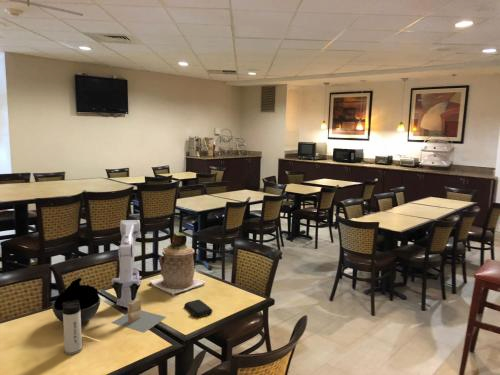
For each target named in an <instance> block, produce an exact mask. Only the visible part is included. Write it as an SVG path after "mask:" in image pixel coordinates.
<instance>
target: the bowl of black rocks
mask: <svg viewBox="0 0 500 375" xmlns="http://www.w3.org/2000/svg"><path fill="white" fill-rule="evenodd" d="M82 279H83V278H82V277H78V278H76V279H75V280H72V281H71V283H70V284H69V285H68V286H67V287H66V289H65V290H64V291H63V292H61V293H60V294H59V296H58V297H57V298H56V300H55V301H53V303H52V305H51V309H52V312H53V315H54V316H55V318H56V319H58V320H59V322H61V323H63V306H62V304H63V303H64V302H69V301H76V302H79V303H80V312H81V325H82V324H84V323H86V322H88V321H90V320H91V319H92V318H93V317H94V316H95V315H96V313H97V312H98V310H99V307H100V304H101V297H100V296H99V293H98V289H97V288H96V287H95V286H91V285H89V284H87V285H86V284H81V283H80V282H81V281H82Z"/></svg>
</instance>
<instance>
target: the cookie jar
mask: <svg viewBox="0 0 500 375" xmlns="http://www.w3.org/2000/svg"><path fill="white" fill-rule="evenodd" d="M187 238H188V237H187V236H186V234H184V233H181V232H180V231H175V232H173V238H172V242H171V243H170V244H169V245H167V246H164V247H163V249H162V252H161V254H162V255H163V256H160V257H159V258H158V263H159V267H160V275H161V276H162V277H159V278H155V279H149V280H148V282H150V283H151V284H152V286H154V287H156V288H158V289H160V290H161V291H164V292H165V293H168V294H170V295H172V296H173V297H174V296H175V295H176V294H180V293H183V292H186V291H189V290H191V289H195V288H198V287H203V286H205V284H206V281H205V280H202V279H199V278H197V277H196V276H195V260H194V254H195V249H194V248H192V247H190V246H188V245H186V244H187ZM194 276H195V277H194ZM202 285H203V286H202Z"/></svg>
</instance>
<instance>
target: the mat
mask: <svg viewBox="0 0 500 375" xmlns="http://www.w3.org/2000/svg"><path fill="white" fill-rule="evenodd" d="M166 318H167V316H164V315H162V314H161V315H160V314H156V313H153V312H150V311H145V310H142V309H141V318H140V319H138V320H137V321H135V322H133V323H130V322H128V312H127V313H125V314H123V315H121V317H119V318H117V319H115V320H114V321H112V322H111V324H114V325H117V326H120V327H124V328H128V329H130V330H135V331H138V332H141V333H144V334H145V333H146V332H147V331H149V330H150V329H152V328H153V327H155V326H156V325H157V324H159V323H160V322H162V321H163V320H165V319H166Z"/></svg>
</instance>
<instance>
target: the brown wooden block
mask: <svg viewBox="0 0 500 375" xmlns="http://www.w3.org/2000/svg"><path fill="white" fill-rule="evenodd" d="M141 310H142V299H141V298H137V299H135V300H133V301H131V302H129V303H128V308H127V313H128V322H130V323H133V322H135V321H137V320H138V319H140V318H141Z"/></svg>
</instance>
